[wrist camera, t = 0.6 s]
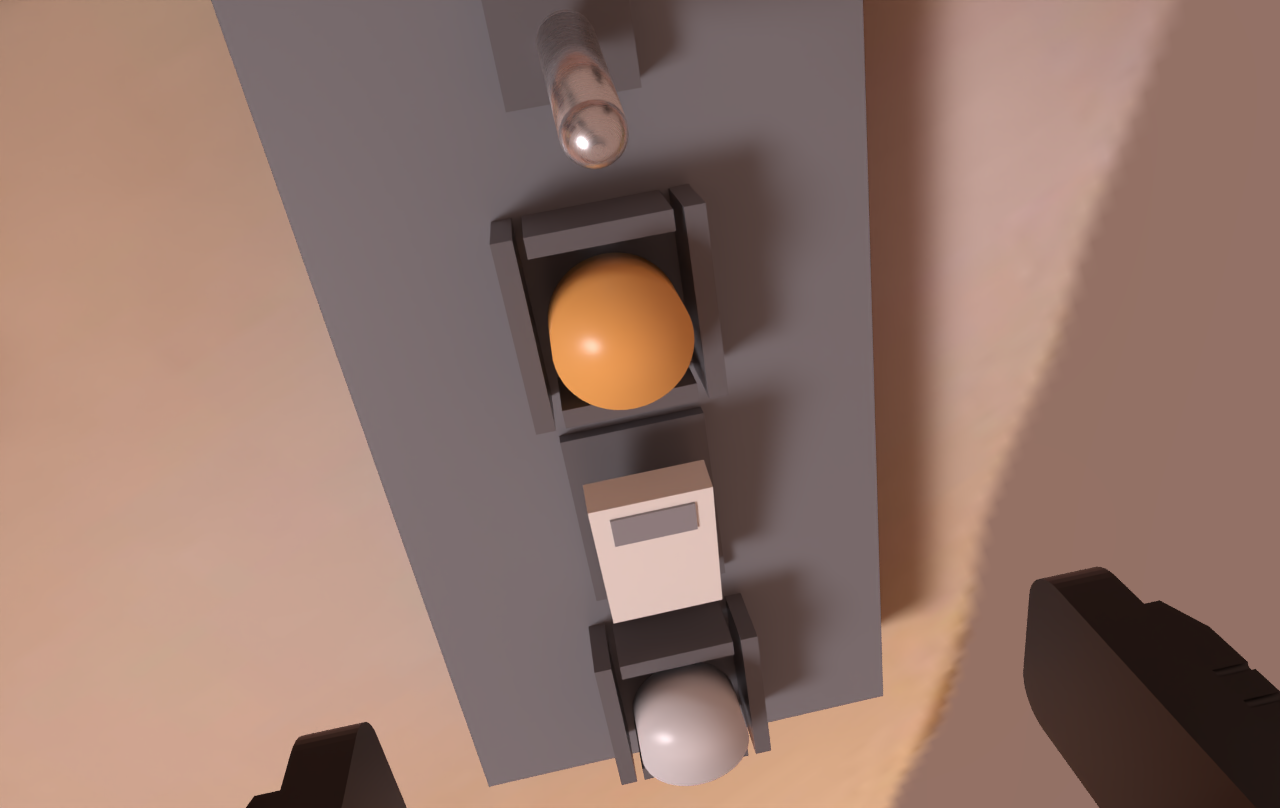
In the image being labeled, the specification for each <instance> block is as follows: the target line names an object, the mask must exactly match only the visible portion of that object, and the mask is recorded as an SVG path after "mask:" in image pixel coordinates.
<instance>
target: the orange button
mask: <svg viewBox="0 0 1280 808" xmlns="http://www.w3.org/2000/svg"><path fill="white" fill-rule="evenodd" d="M548 328H549V336H550V343H551V351H552V357H553V362H554V365H555V369H556V371H557V373H558V375H559V377H560V378H561V380H562V382H563V383H564V384H565V386H566V387H567V388H568V389H569V390H570V391H571V392H572V393H573V394H574V395H576V396H577V397H579V398H580V399H582V400H583V401H585V402H587V403H589V404H591V405H594V406H597V407H600V408H605V409H611V410H628V409H635V408H639V407H642V406H645V405H648V404H650V403H653V402H655V401H656V400H658V399H660V398H662V397H663V396H664V395H666V394H667V393H668V392H670V391H671V390H672V389H673V388H674V387H675V386H676V385H677V384H678V382H679V381H680V380H681V379H682V377H683V376H684V374H685V373H686V371H687V369H688V367H689V364H690V362H691V359H692V355H693V350H694V330H693V325H692V321H691V319H690V316H689V314H688V312H687V310H686V308H685V306H684V304H683V303H682V301H681V299H680V297H679V295H678V294H677V292H676V290H675V288H674V286H673V285H672V283H671V281H670V280H669V278H668V277H667V276H666V274H665V273H664V272H663V271H662V270H661V269H660V268H658V267H657V266H656V265H655V264H653V263H652V262H650V261H648V260H646V259H644V258H642V257H639V256H636V255H632V254H628V253H604V254H600V255H596V256H593V257H590V258H588V259H585V260H584V261H582V262H580V263H578V264H577V265H576V266H574V267H573V268H572V269H570V270H569V271H568V272H567V273H566V274H565V275H564V276H563V278H562V279H561V280H560V281H559V283H558V284H557V286H556V288H555V289H554V292H553V294H552V296H551V299H550V303H549V308H548Z"/></svg>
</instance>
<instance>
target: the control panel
mask: <svg viewBox="0 0 1280 808" xmlns="http://www.w3.org/2000/svg"><path fill="white" fill-rule="evenodd" d="M211 1H212V4H213V7H214V10H215V13H216V15H217V18H218V21H219V24H220V27H221V30H222V32H223V35H224V38H225V41H226V44H227V47H228V49H229V52H230V55H231V58H232V61H233V64H234V66H235V69H236V72H237V75H238V78H239V81H240V83H241V86H242V89H243V92H244V95H245V98H246V100H247V103H248V106H249V109H250V112H251V114H252V117H253V120H254V123H255V126H256V129H257V131H258V134H259V137H260V140H261V143H262V146H263V148H264V151H265V154H266V157H267V160H268V163H269V165H270V168H271V171H272V174H273V177H274V180H275V182H276V185H277V188H278V191H279V194H280V196H281V199H282V202H283V205H284V208H285V211H286V213H287V216H288V219H289V222H290V225H291V228H292V230H293V233H294V236H295V239H296V242H297V245H298V247H299V250H300V253H301V256H302V259H303V262H304V264H305V267H306V270H307V273H308V276H309V279H310V281H311V284H312V287H313V290H314V293H315V295H316V298H317V301H318V304H319V307H320V310H321V312H322V315H323V318H324V321H325V324H326V327H327V329H328V332H329V335H330V338H331V341H332V344H333V346H334V349H335V352H336V355H337V358H338V361H339V363H340V366H341V369H342V372H343V375H344V377H345V380H346V383H347V386H348V389H349V392H350V394H351V397H352V400H353V403H354V406H355V409H356V411H357V414H358V417H359V420H360V423H361V426H362V428H363V431H364V434H365V437H366V440H367V443H368V445H369V448H370V451H371V454H372V457H373V459H374V462H375V465H376V468H377V471H378V474H379V476H380V479H381V482H382V485H383V488H384V491H385V493H386V496H387V499H388V502H389V505H390V508H391V510H392V513H393V516H394V519H395V522H396V525H397V527H398V530H399V533H400V536H401V539H402V542H403V544H404V547H405V550H406V553H407V556H408V558H409V561H410V564H411V567H412V570H413V573H414V575H415V578H416V581H417V584H418V587H419V590H420V592H421V595H422V598H423V601H424V604H425V607H426V609H427V612H428V615H429V618H430V621H431V624H432V626H433V629H434V632H435V635H436V638H437V640H438V643H439V646H440V649H441V652H442V655H443V657H444V660H445V663H446V666H447V669H448V672H449V674H450V677H451V680H452V683H453V686H454V689H455V691H456V694H457V697H458V700H459V703H460V706H461V708H462V711H463V714H464V717H465V720H466V723H467V725H468V728H469V731H470V734H471V737H472V739H473V742H474V745H475V748H476V751H477V754H478V756H479V759H480V762H481V765H482V768H483V771H484V773H485V776H486V779H487V782H488V785H489V787H490V786H494V785H498V784H503V783H507V782H511V781H516V780H520V779H524V778H529V777H533V776H537V775H542V774H546V773H550V772H555V771H559V770H563V769H568V768H572V767H576V766H581V765H585V764H589V763H594V762H598V761H602V760H607V759H611V758H615V759H616V763H617V767H618V771H619V775H620V779H621V784H622V785H624V784H628V783H633V782H637V777H636V771H635V765H634V759H633V753H637V752H640V758H641V763H642V769H643V773H644V778H645V780H646V779H650V778H654V777H653V776H652V775H651V774H650V773H649V772H648V771H647V769H646V768H645V766H644V764H643V761H642V756H641V750H640V745H639V739H638V733H637V728H636V722H635V717H634V711H633V702H634V698H635V695H636V693H637V691H638V689H639V688H640V686H641V685H642V684H643V683H644V682H645V681H646V680H647V679H648V678H649V677H650V676H651V675H653V674H654V673H656V672H659V671H663V670H668V669H672V668H677V667H681V666H686V665H690V664H695V663H699V662H700V663H705V664H709V665H712V666H715V667H717V668H718V669H720V670H721V671H723V672H724V673H725V674H726V675H727V676H728V677H729V679H730V680H731V682H732V685H733V688H734V691H735V694H736V697H737V700H738V703H739V706H740V709H741V712H742V715H743V718H744V721H745V724H746V727H747V728H748V731H749V734H750V737H751V740H752V743H753V746H754V749H755V752H756V754H757V753H762V752H766V751H770V750H771V746H770V737H769V729H768V722H772V721H776V720H780V719H785V718H789V717H793V716H798V715H802V714H806V713H811V712H815V711H819V710H824V709H828V708H832V707H837V706H841V705H845V704H850V703H854V702H858V701H863V700H867V699H871V698H876V697H880V696H883V676H882V642H881V608H880V573H879V539H878V504H877V470H876V435H875V401H874V367H873V332H872V298H871V263H870V229H869V194H868V160H867V126H866V91H865V57H864V22H863V0H211ZM564 9H567V10H573V11H576V12H578V13H580V14H581V15H583V16H584V17H585V18H586V19H587V20H588V21H589V22H590V24H591V25H592V27H593V29H594V31H595V34H596V37H597V40H598V42H599V45H600V48H601V51H602V53H603V56H604V59H605V62H606V64H607V67H608V70H609V73H610V76H611V78H612V81H613V84H614V87H615V89H616V92H617V95H618V98H619V100H620V103H621V106H622V109H623V112H624V114H625V117H626V120H627V123H628V129H629V137H628V142H627V146H626V148H625V151H624V152H623V154H622V155H621V157H620V158H619V159H618V160H617V161H616V162H614V163H613V164H611V165H610V166H607V167H605V168H601V169H587V168H584V167H581V166H579V165H577V164H575V163H574V162H573V161H571V160H570V159H569V158H568V157H567V155H566V154H565V153H564V151H563V149H562V147H561V144H560V141H559V137H558V133H557V129H556V125H555V121H554V116H553V112H552V108H551V104H550V100H549V96H548V92H547V88H546V84H545V80H544V75H543V71H542V67H541V63H540V59H539V55H538V51H537V46H536V37H537V32H538V29H539V27H540V25H541V23H542V21H543V20H544V19H545V18H546V17H547V16H548V15H549V14H551V13H553V12H555V11H558V10H564ZM604 253H628V254H632V255H636V256H639V257H642V258H644V259H646V260H648V261H650V262H652V263H653V264H655V265H656V266H657V267H658V268H660V269H661V270H662V271H663V272H664V273H665V274H666V276H667V277H668V278H669V280H670V281H671V283H672V285H673V286H674V288H675V290H676V292H677V294H678V295H679V297H680V299H681V301H682V303H683V304H684V306H685V308H686V310H687V312H688V314H689V316H690V319H691V321H692V325H693V330H694V350H693V355H692V359H691V362H690V364H689V367H688V369H687V371H686V373H685V374H684V376H683V377H682V379H681V380H680V381H679V382H678V384H677V385H676V386H675V387H674V388H673V389H672V390H671V391H670V392H668V393H667V394H666V395H664V396H663V397H662V398H660V399H658V400H656V401H655V402H653V403H650V404H648V405H645V406H642V407H639V408H635V409H628V410H611V409H605V408H600V407H597V406H594V405H591V404H589V403H587V402H585V401H583V400H582V399H580V398H579V397H577V396H576V395H574V394H573V393H572V392H571V391H570V390H569V389H568V388H567V387H566V386H565V384H564V383H563V382H562V380H561V378H560V377H559V375H558V373H557V371H556V369H555V365H554V362H553V357H552V351H551V343H550V336H549V328H548V308H549V303H550V299H551V296H552V294H553V292H554V289H555V288H556V286H557V284H558V283H559V281H560V280H561V279H562V278H563V276H564V275H565V274H566V273H567V272H568V271H569V270H570V269H572V268H573V267H574V266H576V265H577V264H578V263H580V262H582V261H584V260H585V259H588V258H590V257H593V256H596V255H600V254H604ZM699 460H704V462H705V465H706V468H707V471H708V474H709V477H710V480H711V483H712V486H713V494H714V506H715V518H716V530H717V542H718V554H719V565H720V577H721V589H722V600H718V601H713V602H709V603H704V604H700V605H695V606H691V607H686V608H682V609H677V610H673V611H668V612H664V613H659V614H655V615H650V616H646V617H641V618H637V619H632V620H628V621H623V622H619V623H613V619H612V614H611V610H610V606H609V602H608V597H607V593H606V589H605V585H604V580H603V576H602V572H601V568H600V564H599V559H598V555H597V551H596V547H595V542H594V538H593V534H592V530H591V525H590V521H589V517H588V512H587V507H586V501H585V495H584V490H583V485H586V484H590V483H595V482H600V481H604V480H609V479H614V478H619V477H623V476H628V475H633V474H638V473H642V472H647V471H652V470H656V469H661V468H666V467H671V466H675V465H680V464H685V463H690V462H694V461H699ZM744 756H748V749H747V751H746V753H745V755H744Z"/></svg>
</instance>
